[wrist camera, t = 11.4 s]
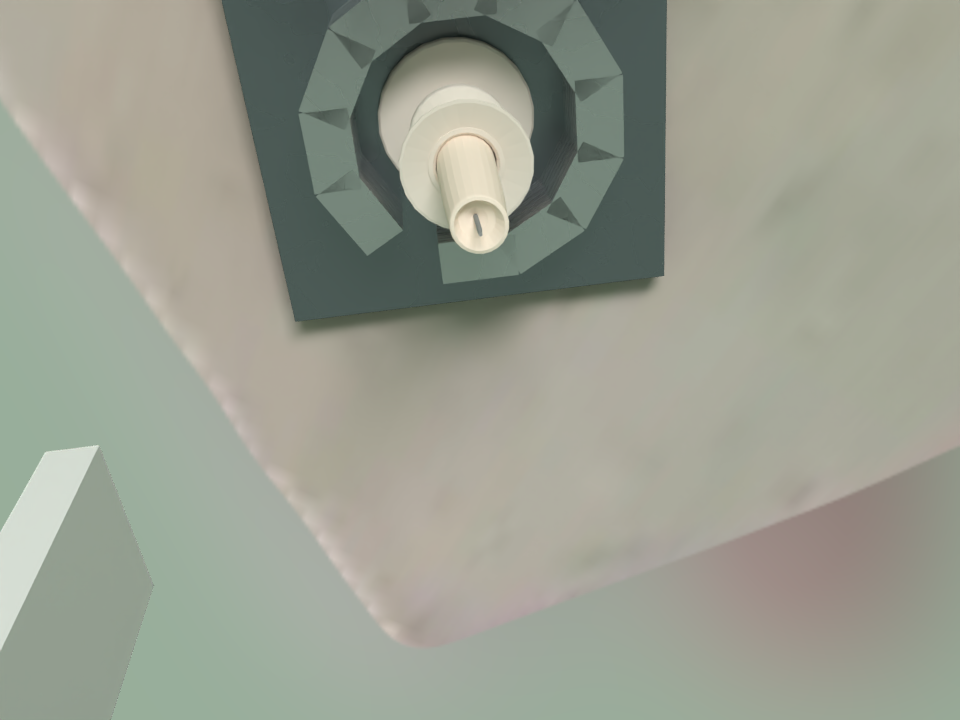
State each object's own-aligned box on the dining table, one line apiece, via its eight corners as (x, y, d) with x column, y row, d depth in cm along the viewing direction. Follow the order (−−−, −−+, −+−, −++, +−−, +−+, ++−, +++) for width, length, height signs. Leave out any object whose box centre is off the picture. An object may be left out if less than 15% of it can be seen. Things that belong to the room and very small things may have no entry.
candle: (345, 106, 30) (324, 224, 21) (467, 0, 29) (501, 77, 20) (445, 219, 32) (466, 368, 23) (562, 126, 31) (632, 246, 22)
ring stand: (206, -96, 27) (183, -86, 24) (659, -147, 28) (692, -145, 25) (298, 309, 35) (289, 354, 32) (657, 264, 35) (682, 305, 32)
